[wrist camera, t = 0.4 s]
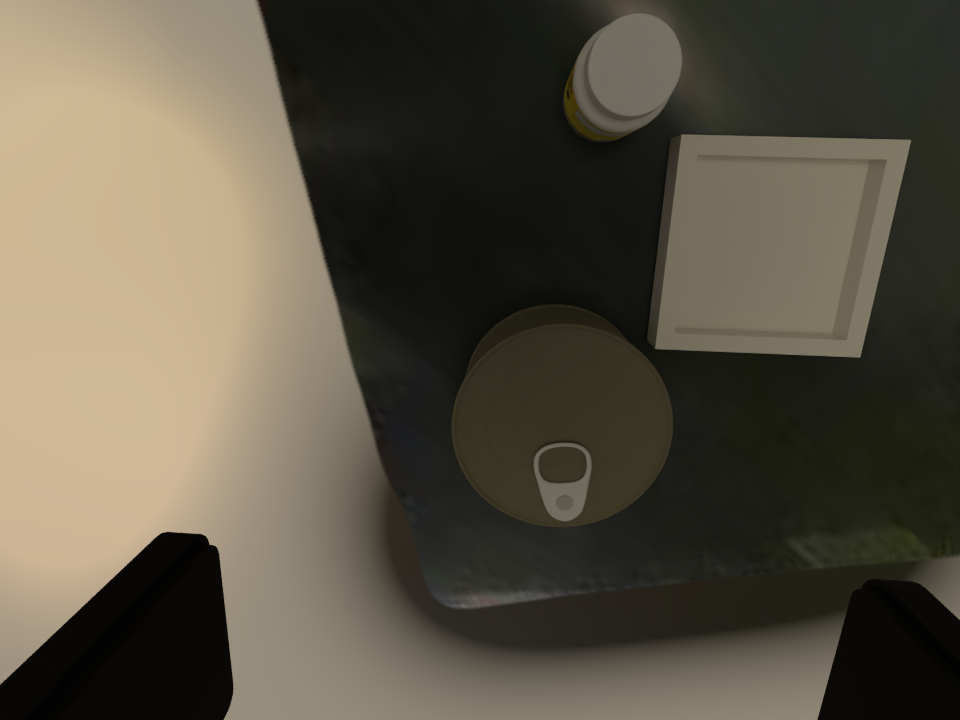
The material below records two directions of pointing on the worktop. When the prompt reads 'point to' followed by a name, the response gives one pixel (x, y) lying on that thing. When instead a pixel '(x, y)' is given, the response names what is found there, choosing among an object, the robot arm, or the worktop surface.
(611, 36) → the supplement bottle
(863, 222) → the tray
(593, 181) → the worktop surface
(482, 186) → the worktop surface
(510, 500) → the can
